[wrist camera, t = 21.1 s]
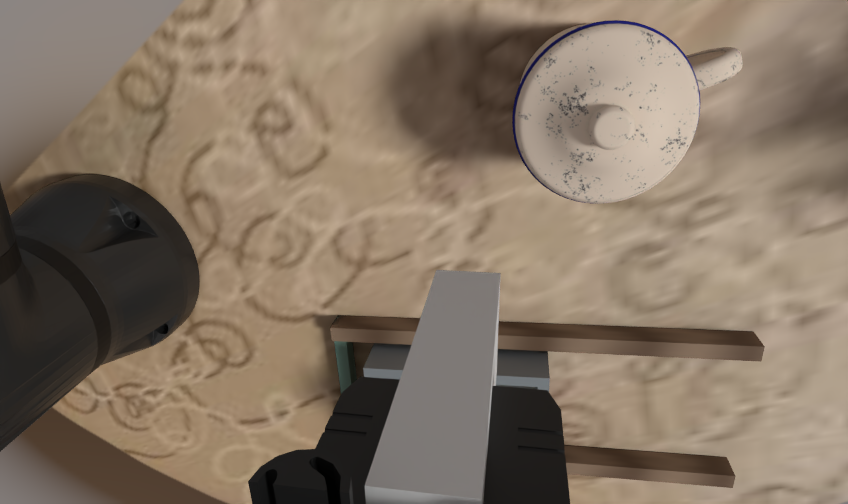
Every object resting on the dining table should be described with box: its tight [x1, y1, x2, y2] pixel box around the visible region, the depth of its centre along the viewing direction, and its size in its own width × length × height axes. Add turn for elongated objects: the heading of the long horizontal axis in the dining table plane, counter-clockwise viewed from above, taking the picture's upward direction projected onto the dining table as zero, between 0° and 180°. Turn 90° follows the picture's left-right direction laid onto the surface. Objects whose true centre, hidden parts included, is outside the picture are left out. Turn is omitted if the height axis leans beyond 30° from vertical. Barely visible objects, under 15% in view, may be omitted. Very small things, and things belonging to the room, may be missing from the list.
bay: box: [330, 315, 764, 488], centre depth 44 cm, size 32×13×2 cm, turn 93°
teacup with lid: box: [512, 20, 743, 203], centre depth 30 cm, size 12×9×12 cm
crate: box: [363, 343, 549, 392], centre depth 44 cm, size 14×10×4 cm
